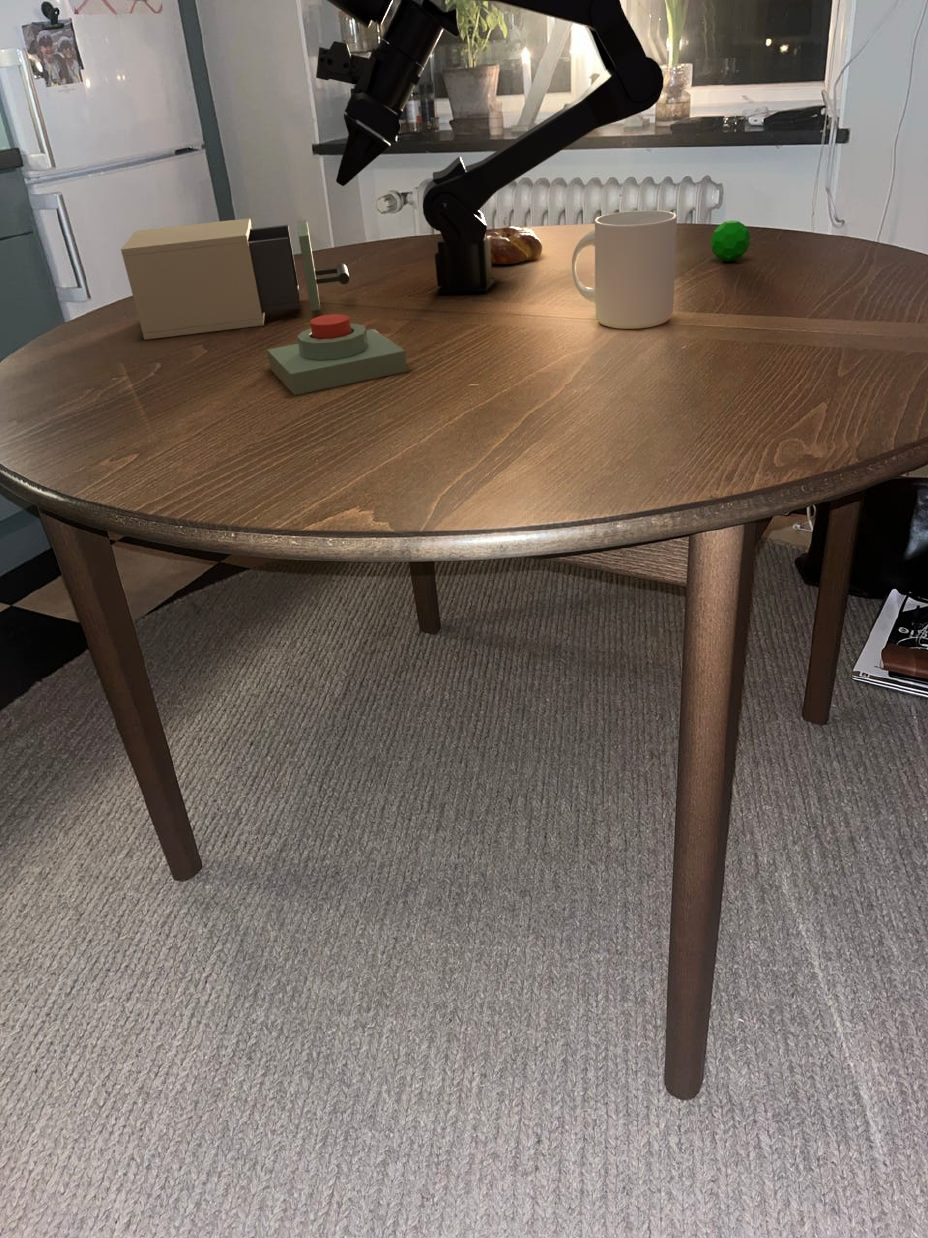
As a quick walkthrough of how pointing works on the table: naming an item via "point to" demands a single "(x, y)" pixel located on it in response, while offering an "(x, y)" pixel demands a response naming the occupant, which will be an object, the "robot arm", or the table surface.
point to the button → (330, 326)
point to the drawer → (286, 268)
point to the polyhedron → (730, 240)
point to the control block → (336, 360)
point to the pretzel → (513, 245)
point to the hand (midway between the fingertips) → (340, 179)
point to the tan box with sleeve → (193, 278)
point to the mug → (631, 268)
